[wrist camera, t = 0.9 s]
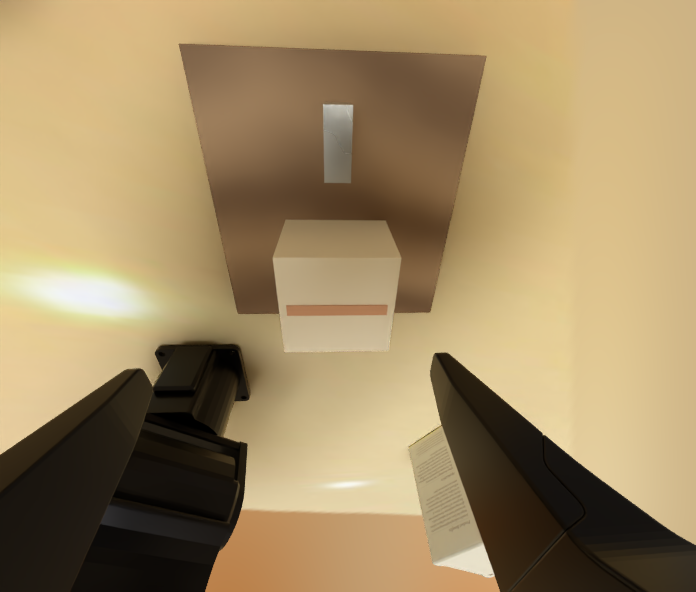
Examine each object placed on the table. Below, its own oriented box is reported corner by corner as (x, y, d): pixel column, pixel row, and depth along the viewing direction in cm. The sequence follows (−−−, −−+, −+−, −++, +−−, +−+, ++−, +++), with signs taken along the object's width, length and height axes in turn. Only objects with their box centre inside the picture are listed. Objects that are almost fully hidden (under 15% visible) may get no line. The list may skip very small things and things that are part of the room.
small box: (489, 445, 35) (541, 562, 27) (452, 466, 38) (489, 580, 29) (443, 422, 32) (485, 545, 24) (406, 446, 35) (432, 566, 26)
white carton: (385, 220, 19) (402, 258, 14) (377, 301, 22) (389, 352, 18) (285, 219, 18) (272, 258, 14) (293, 302, 22) (283, 353, 17)
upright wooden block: (347, 167, 17) (350, 183, 14) (325, 166, 17) (324, 182, 14) (348, 102, 15) (353, 104, 12) (324, 101, 15) (322, 104, 12)
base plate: (426, 304, 23) (430, 312, 23) (241, 305, 23) (237, 313, 22) (478, 57, 15) (486, 55, 14) (187, 46, 14) (178, 43, 14)
